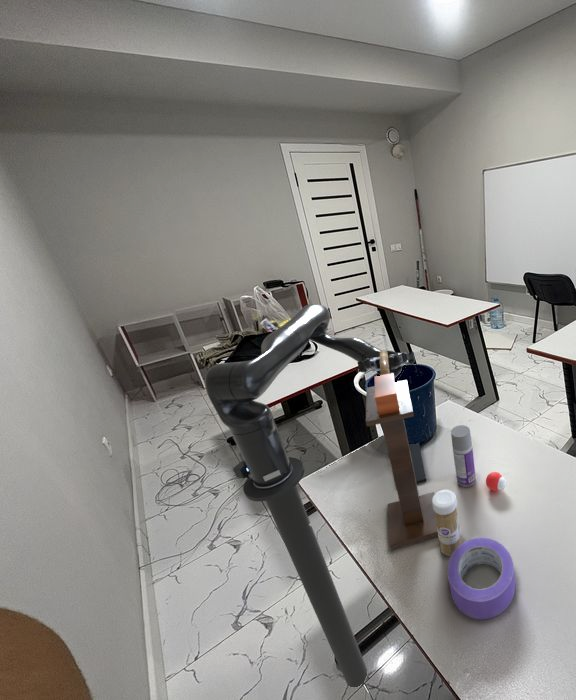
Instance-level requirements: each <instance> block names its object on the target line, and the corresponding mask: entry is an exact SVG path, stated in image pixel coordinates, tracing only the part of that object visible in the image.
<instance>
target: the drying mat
mask: <svg viewBox="0 0 576 700" xmlns="http://www.w3.org/2000/svg"><path fill="white" fill-rule="evenodd" d="M409 448H410V453H411V458H412V463H413V468H414V473H415V478H416V483H417V484H418V483H423V482H426V481H427V476H426V472H425V466H424V461H423V457H422V451H421V445H420V442H419V443H416V444H409Z"/></svg>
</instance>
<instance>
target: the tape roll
mask: <svg viewBox="0 0 576 700" xmlns="http://www.w3.org/2000/svg"><path fill="white" fill-rule="evenodd" d="M449 557H450V558H449V560H448V563H447V578H448V583H449V588H450V589H449V590H450V594H451V598H452V600H453V602H454V605H455V606H456V608H458V610H459V611H460V612H461V613H462V614H464V615H465V616H466V617H469V618H471V619H473V620H489V619H493V618H495V617H497V616H499V615H501V614H502V613H503V612H504V611H505V610H506V609H507V608H508V607H509V606H510V605H511V603H512V601H513V599H514V595H515V591H516V580H515V579H516V578H515V567H514V561H513V558H512V556H511V553H510V552H509V550H508V549H507V548H506V547H505V545H504V544H502V543H500V542H499V541H497V540H495V539H492V538H489V537H483V536H481V537H474V538H470V539H468V540H466V541H463V542H462V544H461V545H459V546H458V547H457V548H456V549H455V551H454V552H453V554H452V555H451V556H449ZM478 565H479V566H480V565H488V566H491V567H493V568H495V569H496V570H497V571H498V572H499V574H500V575H499V577H498V579H497V580H496V581H495V582H494V583H493V584H492V585H490V586H488V587H484V588H475V587H472V586H470V585H468V584H467V583H466V582H465V581H464V580H463V579H464V577H465V575H466V573H467V572H468V571H469V570H470V569H471V568H474V567H475V566H478Z"/></svg>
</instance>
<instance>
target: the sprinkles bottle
mask: <svg viewBox="0 0 576 700" xmlns="http://www.w3.org/2000/svg"><path fill="white" fill-rule="evenodd" d="M432 505H433V509H434V511H435V517H436V523H437V531H438V537H437V538H438V540H439V549H440V551H441V553H442V554H443V555H445V556H447V557H451V555H452V554H453V552H454V551H455V549H456V548H457V547H458V546H459V545H461V544H462V543H463V542H462V538H461V529H460V523H459V515H458V508H457V507H458V502H457V496H456V493H455V492H454V491H452V490H450V489H441V490H439V491H437V492H435V495H434V496H433V498H432Z"/></svg>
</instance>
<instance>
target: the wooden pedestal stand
mask: <svg viewBox="0 0 576 700" xmlns="http://www.w3.org/2000/svg"><path fill="white" fill-rule="evenodd" d="M396 387H397V394H398V401H399V409H400V411H398V412H393V413H388V414H384V415H379V414H378V410H377V406H376V401H375V385H374V386H369V387H366V393H365V394H366V395H365V397H366V398H365V425H366V427H371V426H375V425H381V428H382V434H383V436H384V441H385V446H386V450H387V455H388V459H389V462H390V467H391V471H392V476H393V480H394V485H395V488H396V493H397V497H398V501H394V502H390V503H387V505H386V506H387V524H388V542H389V544H388V545H389V548H390V550H391V551H394V550H396V549H400V548H404V547H407V546H412V545H414V544H417V543H418V544H419V543H421V542H424V541H428V540H432V539H435V538H439V537H438V531H437V523H436V517H435V511H434V509H433V505H432V498H433V496H434V495H435V494H436V492H435V491H433V492H432V491H431V492H429V493H425V494H421V495H420V493H419V489H418V483H416V478H415V473H414V468H413V463H412V458H411V453H410V448H409V438H408V432H407V428H406V423H405V419H408V418H413V417H414V416H415V414H414V410H413V404H412V400H411V394H410V388H409V384H408V379H404V380H397V382H396Z"/></svg>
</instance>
